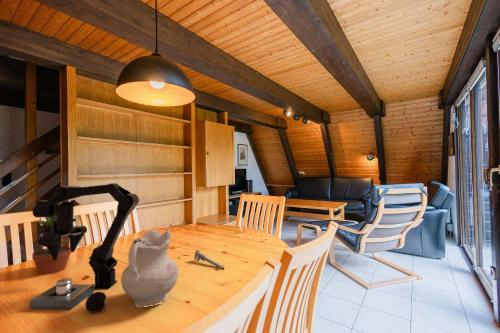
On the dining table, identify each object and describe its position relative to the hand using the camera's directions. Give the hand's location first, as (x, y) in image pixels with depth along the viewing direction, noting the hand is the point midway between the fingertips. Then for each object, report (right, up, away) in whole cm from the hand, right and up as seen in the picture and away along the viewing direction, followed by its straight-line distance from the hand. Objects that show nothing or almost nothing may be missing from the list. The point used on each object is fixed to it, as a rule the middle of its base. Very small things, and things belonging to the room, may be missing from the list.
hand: (64, 255), depth 100 cm
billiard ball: (+23, -13, -17) cm, 32 cm away
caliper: (+55, -14, +24) cm, 62 cm away
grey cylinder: (+8, -12, -10) cm, 18 cm away
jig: (+8, -12, -10) cm, 18 cm away
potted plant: (-18, -13, +16) cm, 27 cm away
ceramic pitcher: (+39, -13, -10) cm, 42 cm away
